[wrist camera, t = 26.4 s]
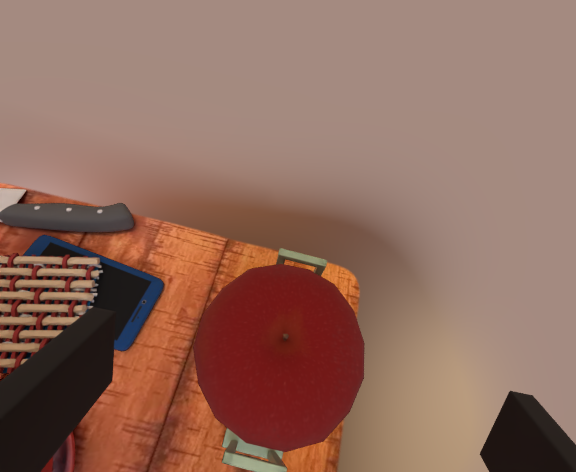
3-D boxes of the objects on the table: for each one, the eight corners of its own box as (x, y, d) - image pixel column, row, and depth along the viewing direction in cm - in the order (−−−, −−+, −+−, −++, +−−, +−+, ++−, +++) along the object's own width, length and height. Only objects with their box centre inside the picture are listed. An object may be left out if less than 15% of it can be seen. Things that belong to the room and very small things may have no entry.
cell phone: (44, 235, 35) (40, 231, 34) (167, 282, 34) (166, 280, 33) (-8, 299, 32) (-14, 297, 31) (127, 354, 31) (124, 353, 30)
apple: (329, 450, 28) (388, 478, 16) (191, 426, 28) (150, 438, 16) (340, 310, 34) (390, 256, 22) (225, 289, 34) (213, 223, 22)
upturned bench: (280, 461, 28) (294, 483, 19) (222, 445, 28) (211, 461, 20) (312, 299, 35) (335, 261, 26) (266, 286, 35) (272, 245, 26)
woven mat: (-19, 249, 31) (-3, 256, 33) (-65, 374, 27) (-44, 374, 29) (99, 251, 32) (108, 258, 34) (72, 373, 28) (84, 373, 30)
